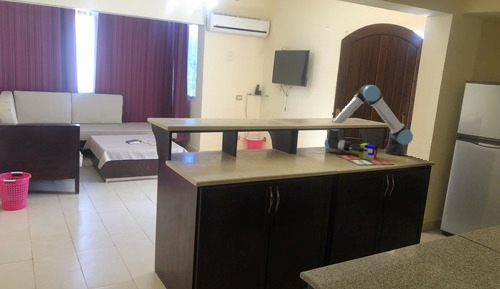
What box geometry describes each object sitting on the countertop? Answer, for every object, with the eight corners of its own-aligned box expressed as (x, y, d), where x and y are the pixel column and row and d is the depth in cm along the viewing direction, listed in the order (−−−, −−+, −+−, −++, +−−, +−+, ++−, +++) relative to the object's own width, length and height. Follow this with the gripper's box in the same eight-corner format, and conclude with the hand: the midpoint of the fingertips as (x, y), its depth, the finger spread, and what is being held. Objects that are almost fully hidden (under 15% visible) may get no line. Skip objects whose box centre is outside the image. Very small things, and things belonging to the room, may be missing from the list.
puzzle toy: (371, 160, 284) (373, 146, 282) (358, 157, 289) (360, 144, 287) (376, 158, 292) (378, 145, 290) (363, 155, 297) (364, 142, 296)
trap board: (369, 155, 299) (370, 154, 299) (394, 164, 272) (394, 164, 272) (336, 155, 290) (336, 155, 290) (358, 165, 263) (358, 164, 263)
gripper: (348, 148, 309) (376, 152, 298) (339, 152, 289) (369, 157, 278) (349, 139, 307) (378, 143, 297) (340, 142, 287) (371, 147, 277)
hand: (374, 150), depth 287 cm, fingers closed on puzzle toy, 11 cm apart
